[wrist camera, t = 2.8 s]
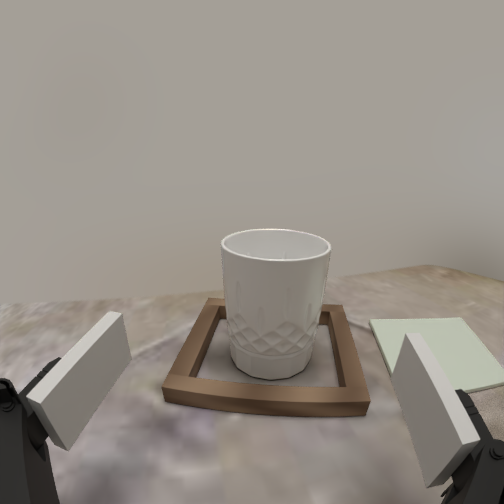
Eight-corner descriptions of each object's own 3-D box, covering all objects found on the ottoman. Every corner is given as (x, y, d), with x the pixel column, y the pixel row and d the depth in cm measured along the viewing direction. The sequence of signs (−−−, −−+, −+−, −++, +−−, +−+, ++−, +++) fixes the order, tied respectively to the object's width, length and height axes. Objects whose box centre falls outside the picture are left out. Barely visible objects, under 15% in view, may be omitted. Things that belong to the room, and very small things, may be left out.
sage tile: (459, 320, 28) (460, 317, 28) (509, 383, 17) (511, 379, 17) (368, 322, 29) (369, 319, 29) (400, 402, 18) (402, 399, 18)
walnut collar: (340, 317, 31) (342, 304, 30) (365, 415, 17) (370, 400, 17) (209, 310, 32) (208, 297, 32) (165, 401, 19) (161, 386, 18)
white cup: (295, 398, 20) (310, 269, 17) (205, 364, 23) (197, 246, 20) (328, 343, 26) (342, 237, 23) (253, 322, 30) (254, 224, 27)
